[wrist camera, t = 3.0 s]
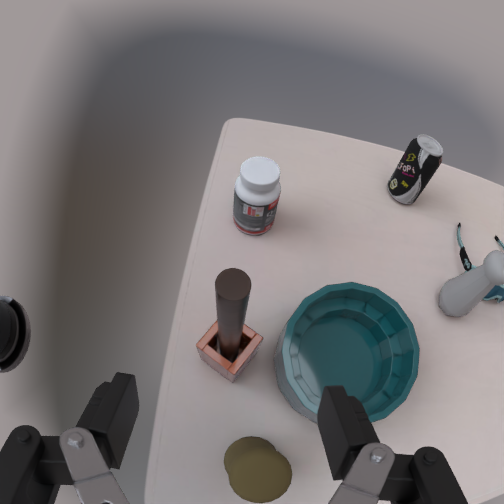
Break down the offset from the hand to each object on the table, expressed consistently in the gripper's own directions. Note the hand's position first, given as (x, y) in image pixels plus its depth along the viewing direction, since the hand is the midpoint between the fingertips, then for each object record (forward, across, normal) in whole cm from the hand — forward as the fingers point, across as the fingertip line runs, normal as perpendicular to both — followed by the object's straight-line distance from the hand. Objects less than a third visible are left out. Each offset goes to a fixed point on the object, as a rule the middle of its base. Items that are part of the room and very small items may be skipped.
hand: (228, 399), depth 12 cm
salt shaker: (+26, -32, +7) cm, 42 cm away
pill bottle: (+34, -2, -2) cm, 35 cm away
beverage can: (+40, -28, -7) cm, 49 cm away
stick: (+20, 0, +11) cm, 23 cm away
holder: (+21, 0, +12) cm, 24 cm away
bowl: (+20, -13, +12) cm, 27 cm away
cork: (+12, -3, +21) cm, 24 cm away
